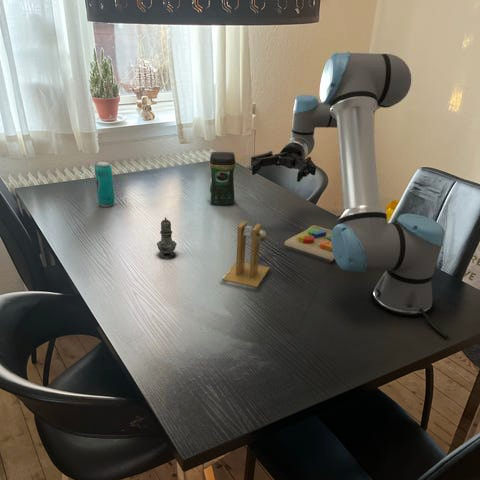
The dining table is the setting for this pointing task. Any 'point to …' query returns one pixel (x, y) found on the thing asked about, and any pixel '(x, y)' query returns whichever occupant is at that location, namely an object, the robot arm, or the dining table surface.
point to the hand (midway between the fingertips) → (275, 173)
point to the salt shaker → (166, 241)
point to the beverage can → (104, 183)
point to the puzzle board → (313, 242)
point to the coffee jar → (222, 178)
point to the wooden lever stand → (244, 271)
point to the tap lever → (249, 233)
